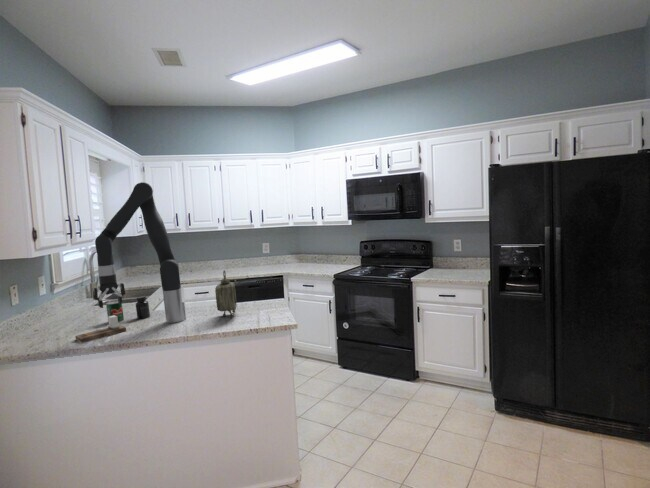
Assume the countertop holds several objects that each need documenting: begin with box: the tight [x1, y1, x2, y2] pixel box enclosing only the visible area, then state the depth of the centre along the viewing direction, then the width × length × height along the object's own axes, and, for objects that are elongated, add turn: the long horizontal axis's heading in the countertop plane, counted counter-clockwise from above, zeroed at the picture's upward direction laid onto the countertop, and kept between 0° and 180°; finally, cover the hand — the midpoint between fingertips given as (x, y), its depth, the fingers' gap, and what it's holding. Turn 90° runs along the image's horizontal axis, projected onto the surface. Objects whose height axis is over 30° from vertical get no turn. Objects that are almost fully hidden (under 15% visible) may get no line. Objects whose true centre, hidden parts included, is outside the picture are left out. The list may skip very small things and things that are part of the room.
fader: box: [107, 315, 120, 329], centre depth 195 cm, size 3×7×6 cm, turn 48°
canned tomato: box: [105, 300, 125, 324], centre depth 217 cm, size 8×8×11 cm
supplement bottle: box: [135, 295, 151, 320], centre depth 221 cm, size 7×7×12 cm
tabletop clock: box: [214, 269, 238, 319], centre depth 209 cm, size 14×9×25 cm, turn 9°
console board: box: [74, 324, 127, 344], centre depth 191 cm, size 20×9×2 cm, turn 138°
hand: (110, 305), depth 195 cm, fingers open, 8 cm apart
